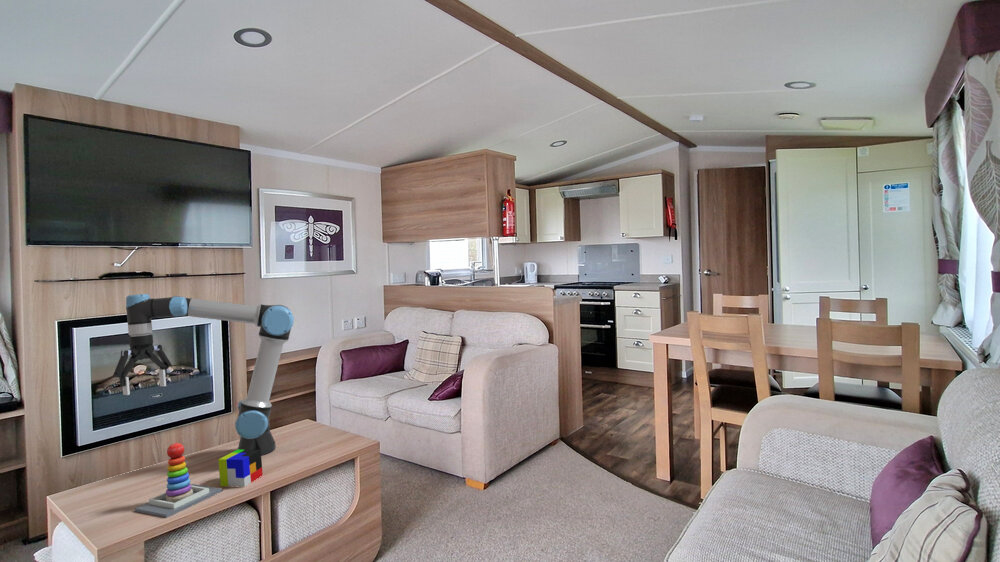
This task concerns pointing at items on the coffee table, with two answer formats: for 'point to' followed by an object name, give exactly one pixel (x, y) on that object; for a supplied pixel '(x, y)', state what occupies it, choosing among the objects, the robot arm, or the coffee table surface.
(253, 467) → the puzzle toy
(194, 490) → the board
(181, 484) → the stacking toy
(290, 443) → the coffee table surface
